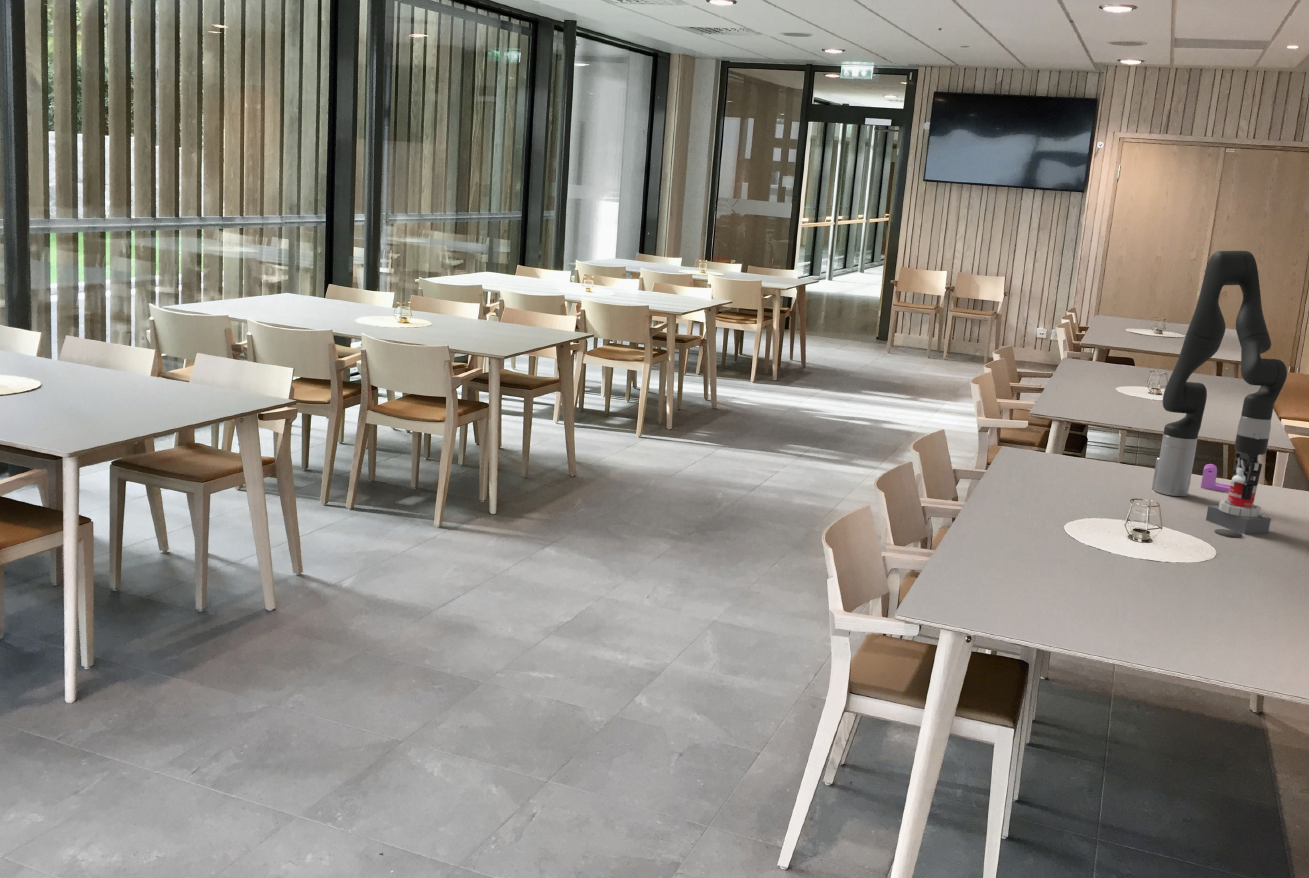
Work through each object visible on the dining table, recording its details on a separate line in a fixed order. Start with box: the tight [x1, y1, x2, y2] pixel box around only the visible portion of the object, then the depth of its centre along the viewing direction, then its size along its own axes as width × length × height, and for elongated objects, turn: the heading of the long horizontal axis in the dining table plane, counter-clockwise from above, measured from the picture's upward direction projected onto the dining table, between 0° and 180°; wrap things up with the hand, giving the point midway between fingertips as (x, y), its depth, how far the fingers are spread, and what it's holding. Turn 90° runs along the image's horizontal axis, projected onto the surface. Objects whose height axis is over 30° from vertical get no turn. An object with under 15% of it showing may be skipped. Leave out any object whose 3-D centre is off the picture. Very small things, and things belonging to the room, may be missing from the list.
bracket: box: [1200, 463, 1231, 493], centre depth 343 cm, size 13×6×7 cm, turn 63°
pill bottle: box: [1226, 467, 1258, 509], centre depth 298 cm, size 6×6×11 cm
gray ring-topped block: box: [1205, 499, 1272, 535], centre depth 299 cm, size 13×10×6 cm
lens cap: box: [1214, 528, 1243, 539], centre depth 291 cm, size 6×6×1 cm
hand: (1241, 496), depth 298 cm, fingers closed on pill bottle, 6 cm apart
